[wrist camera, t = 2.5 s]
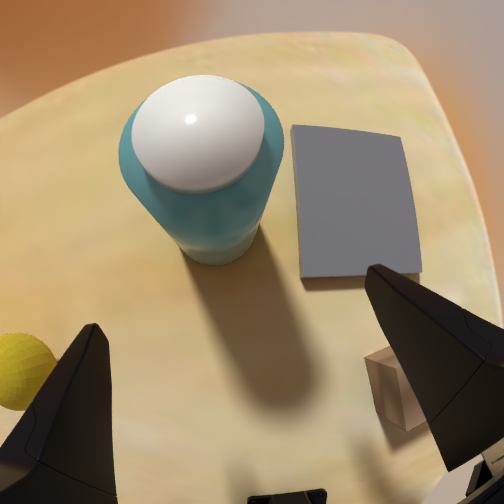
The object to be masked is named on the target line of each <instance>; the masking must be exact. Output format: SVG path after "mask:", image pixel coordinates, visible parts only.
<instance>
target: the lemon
mask: <svg viewBox="0 0 504 504" xmlns="http://www.w3.org/2000/svg"><path fill="white" fill-rule="evenodd" d="M56 364H57V362H56V360H55V357H54V355H53V353H52V352H51V350H50V349H49V348H48V347H47V346H46V345H45V344H44V343H43V342H42V341H41V340H39V339H37V338H36V337H34V336H32V335H28V334H25V333H9V334H5V335H2V336H0V405H1V406H3V407H5V408H8V409H11V410H15V411H23V410H26V409H27V408H28V406H29V405H30V403H31V402H32V400H33V399H34V397H35V395H36V394H37V392H38V391H39V389H40V388H41V386H42V385H43V383H44V382H45V380H46V379H47V377H48V376H49V374H50V373H51V372H52V370H53V369H54V367H55V366H56Z"/></svg>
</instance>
